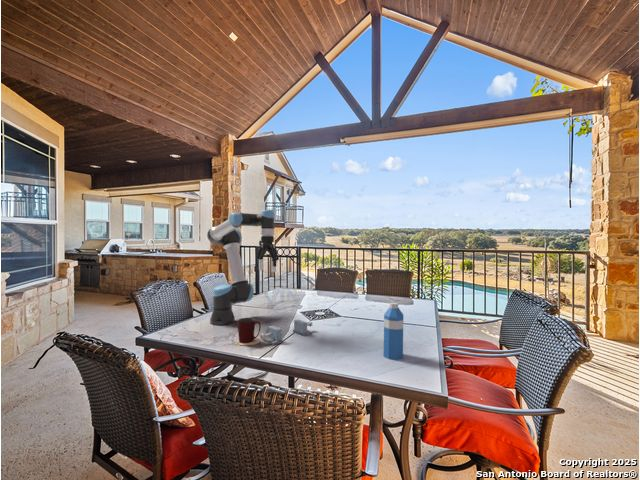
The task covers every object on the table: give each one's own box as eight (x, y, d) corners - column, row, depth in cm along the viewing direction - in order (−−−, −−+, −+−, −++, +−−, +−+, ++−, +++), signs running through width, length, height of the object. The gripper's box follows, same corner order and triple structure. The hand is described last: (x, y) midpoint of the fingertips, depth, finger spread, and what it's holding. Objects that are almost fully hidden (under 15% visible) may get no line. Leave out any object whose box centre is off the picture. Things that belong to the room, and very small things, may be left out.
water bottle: (380, 352, 146) (381, 301, 145) (399, 351, 146) (400, 301, 146) (386, 360, 136) (387, 305, 136) (406, 359, 137) (407, 305, 137)
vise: (256, 341, 158) (256, 328, 158) (305, 328, 181) (305, 317, 181) (267, 347, 151) (267, 333, 151) (316, 332, 174) (316, 320, 174)
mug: (262, 338, 162) (262, 318, 162) (257, 344, 153) (258, 322, 153) (240, 337, 163) (241, 317, 163) (235, 343, 154) (235, 322, 154)
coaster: (232, 341, 158) (232, 340, 158) (252, 336, 167) (252, 335, 167) (244, 347, 150) (244, 346, 150) (264, 342, 158) (264, 341, 158)
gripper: (251, 235, 187) (251, 269, 187) (274, 235, 169) (274, 273, 169) (261, 235, 192) (261, 268, 192) (285, 236, 174) (284, 272, 174)
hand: (267, 271), depth 181 cm, fingers open, 13 cm apart
